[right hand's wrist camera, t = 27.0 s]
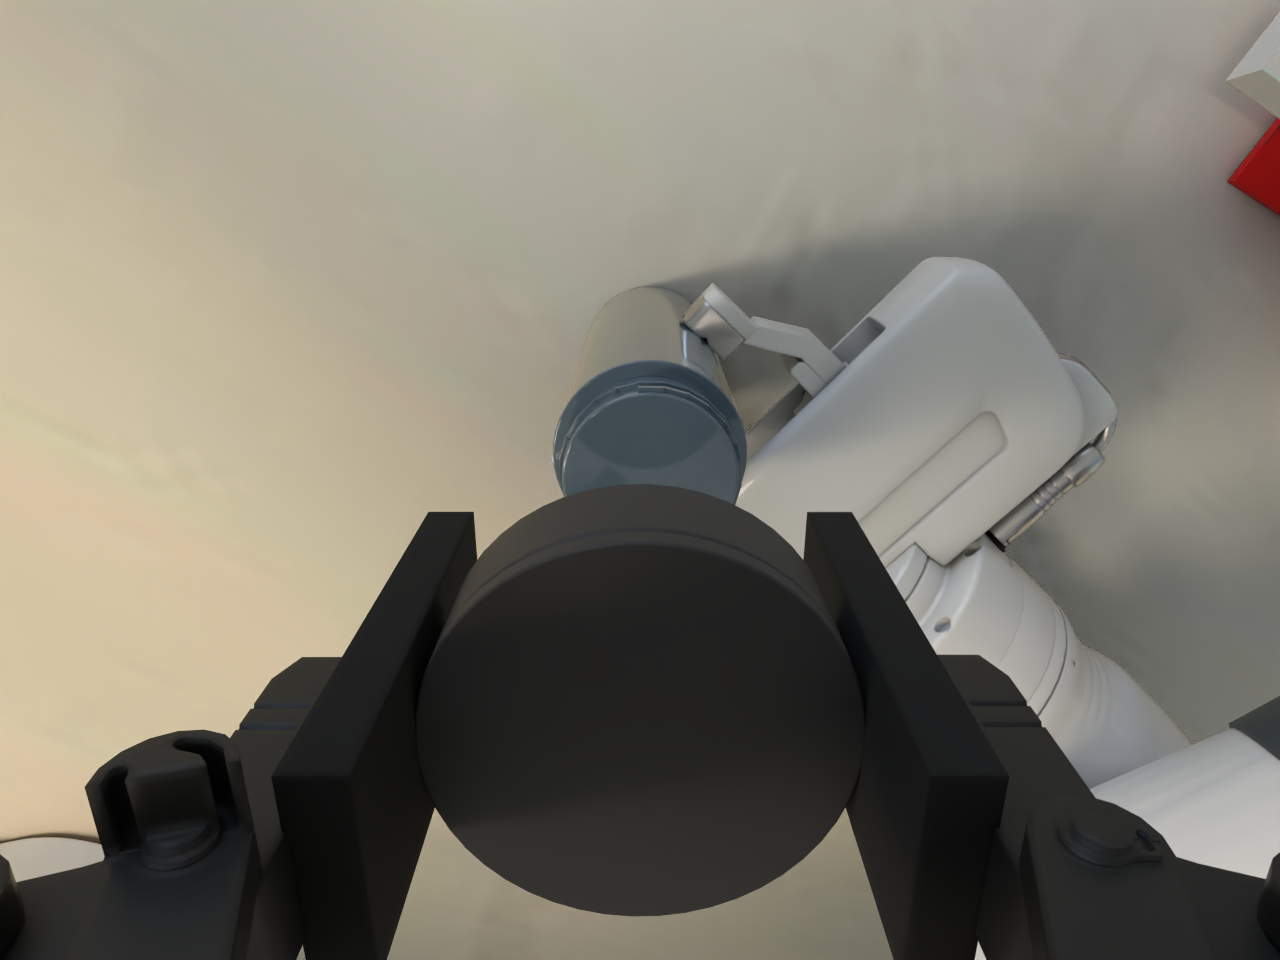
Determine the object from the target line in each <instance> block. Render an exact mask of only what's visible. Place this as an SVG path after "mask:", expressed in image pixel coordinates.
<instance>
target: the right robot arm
mask: <svg viewBox="0 0 1280 960" xmlns="http://www.w3.org/2000/svg"><path fill="white" fill-rule="evenodd" d="M803 560H804V561H805V563H806V564H807V565H808V567H809V569H810V570H811V572H812V574H813V575H814V577H815V579H816V580H817V582H818V584H819V585H820V588H821V590H822V593H823V595H824V597H825V600H826V602H827V605H828V607H829V609H830V612H831V614H832V616H833V619H834V621H835V624H836V626H837V628H838V631H839V633H840V636H841V638H842V640H843V643H844V645H845V648H846V650H847V652H848V655H849V657H850V660H851V662H852V664H853V667H854V669H855V672H856V674H857V677H858V679H859V683H860V687H861V691H862V695H863V700H864V704H865V716H866V725H865V736H864V745H863V754H862V762H861V769H860V773H859V777H858V780H857V783H856V785H855V788H854V790H853V792H852V795H851V797H850V800H849V802H848V804H847V805H846V810H847V813H848V816H849V819H850V822H851V826H852V829H853V832H854V835H855V838H856V841H857V845H858V848H859V851H860V854H861V857H862V860H863V864H864V867H865V870H866V873H867V876H868V879H869V883H870V886H871V889H872V892H873V895H874V898H875V902H876V905H877V908H878V911H879V914H880V917H881V921H882V924H883V927H884V930H885V933H886V936H887V940H888V943H889V946H890V949H891V952H892V955H893V959H894V960H975V955H976V950H977V945H978V942H979V944H980V946H981V949H982V951H983V953H984V956H985V958H986V960H1280V853H1278V854H1277V855H1276V856H1275V857H1273V859H1272V862H1271V865H1270V868H1269V871H1268V874H1267V877H1266V879H1263V878H1259V877H1255V876H1251V875H1246V874H1242V873H1238V872H1233V871H1229V870H1225V869H1220V868H1216V867H1212V866H1207V865H1203V864H1199V863H1195V862H1192V861H1189V860H1185V859H1182V858H1179V857H1176V855H1175V854H1174V852H1173V851H1172V849H1171V848H1170V846H1169V845H1168V843H1167V842H1166V840H1165V839H1164V837H1163V836H1162V835H1161V834H1160V833H1159V832H1158V831H1156V830H1155V829H1154V828H1153V827H1152V826H1150V825H1149V824H1148V823H1147V822H1146V821H1145V820H1143V819H1142V818H1141V817H1139V816H1137V815H1135V814H1133V813H1131V812H1129V811H1128V810H1126V809H1124V808H1122V807H1120V806H1118V805H1116V804H1114V803H1110V802H1107V801H1103V800H1100V799H1097V798H1095V796H1094V795H1093V794H1092V792H1091V791H1090V789H1089V788H1088V786H1087V785H1086V784H1085V782H1084V781H1083V779H1082V778H1081V777H1080V775H1079V774H1078V772H1077V771H1076V770H1075V768H1074V767H1073V765H1072V764H1071V763H1070V761H1069V760H1068V758H1067V757H1066V756H1065V754H1064V753H1063V751H1062V750H1061V748H1060V747H1059V746H1058V744H1057V743H1056V741H1055V740H1054V739H1053V737H1052V736H1051V734H1050V733H1049V732H1048V730H1047V729H1046V727H1042V722H1041V720H1040V719H1039V718H1038V716H1037V715H1036V713H1035V712H1034V710H1033V709H1032V708H1031V706H1027V701H1026V699H1025V698H1024V696H1023V695H1022V694H1021V692H1020V691H1019V689H1018V688H1017V687H1016V685H1015V684H1014V682H1013V681H1012V680H1011V678H1010V677H1009V676H1008V675H1007V674H1005V673H1004V672H1003V671H1001V670H1000V669H998V668H997V667H995V666H994V665H993V664H991V663H990V662H988V661H987V660H986V659H984V658H983V657H981V656H980V655H937V654H936V652H935V651H934V649H933V647H932V646H931V644H930V642H929V640H928V639H927V637H926V635H925V634H924V632H923V630H922V629H921V627H920V625H919V624H918V622H917V620H916V619H915V617H914V615H913V614H912V612H911V610H910V609H909V607H908V605H907V604H906V602H905V600H904V599H903V597H902V595H901V594H900V592H899V590H898V588H897V587H896V585H895V583H894V582H893V580H892V578H891V577H890V575H889V573H888V572H887V570H886V568H885V567H884V565H883V563H882V562H881V560H880V558H879V557H878V555H877V553H876V552H875V550H874V548H873V547H872V545H871V543H870V542H869V540H868V538H867V537H866V535H865V533H864V531H863V530H862V528H861V526H860V525H859V523H858V521H857V520H856V518H855V516H854V515H853V513H852V512H807V519H806V532H805V545H804V558H803ZM476 561H477V552H476V538H475V525H474V512H428V514H427V516H426V517H425V519H424V521H423V522H422V524H421V526H420V527H419V529H418V531H417V532H416V534H415V536H414V537H413V539H412V541H411V542H410V544H409V546H408V547H407V549H406V551H405V552H404V554H403V556H402V558H401V559H400V561H399V563H398V564H397V566H396V568H395V569H394V571H393V573H392V574H391V576H390V578H389V579H388V581H387V583H386V584H385V586H384V588H383V589H382V591H381V593H380V594H379V596H378V598H377V599H376V601H375V603H374V604H373V606H372V608H371V610H370V611H369V613H368V615H367V616H366V618H365V620H364V621H363V623H362V625H361V626H360V628H359V630H358V631H357V633H356V635H355V636H354V638H353V640H352V641H351V643H350V645H349V646H348V648H347V650H346V651H345V653H344V655H343V656H342V657H302V658H300V659H299V660H298V661H296V662H295V663H293V664H292V665H291V666H289V667H288V668H286V669H285V670H284V671H282V672H281V673H279V674H278V675H277V676H275V677H274V678H272V679H271V681H270V682H269V684H268V685H267V687H266V688H265V689H264V691H263V692H262V694H261V695H260V696H259V698H258V699H257V701H256V702H255V704H254V709H250V711H249V712H248V713H247V715H246V716H245V718H244V719H243V721H242V722H241V723H240V728H239V730H235V732H234V733H233V735H232V736H231V737H230V738H229V737H227V736H226V735H225V734H221V733H216V732H212V731H208V730H191V731H177V732H173V733H169V734H165V735H162V736H158V737H154V738H150V739H148V740H145V741H143V742H141V743H139V744H137V745H135V746H133V747H130V748H128V749H126V750H124V751H122V752H120V753H119V754H118V755H116V756H115V757H114V758H112V759H111V760H110V761H108V762H107V763H105V764H104V765H103V766H101V767H100V768H99V769H98V770H97V771H96V773H95V774H94V775H93V777H92V778H91V779H90V781H89V782H88V783H87V785H86V786H85V790H86V793H87V797H88V800H89V804H90V807H91V811H92V814H93V818H94V821H95V825H96V828H97V832H98V835H99V839H100V842H101V846H102V849H103V853H104V856H105V857H104V860H103V861H100V862H97V863H94V864H90V865H87V866H84V867H80V868H75V869H71V870H67V871H62V872H58V873H54V874H49V875H45V876H41V877H37V878H32V879H28V880H24V881H19V882H16V880H15V878H14V875H13V872H12V869H11V866H10V863H9V861H8V860H7V859H5V858H4V857H3V856H2V855H0V960H296V959H297V956H298V954H299V952H300V949H301V947H302V945H303V947H304V953H305V958H306V960H387V957H388V954H389V951H390V948H391V944H392V941H393V938H394V935H395V932H396V929H397V925H398V922H399V919H400V916H401V913H402V910H403V906H404V903H405V900H406V897H407V894H408V891H409V887H410V884H411V881H412V878H413V875H414V872H415V868H416V865H417V862H418V859H419V856H420V853H421V849H422V846H423V843H424V840H425V837H426V834H427V830H428V827H429V824H430V821H431V818H432V815H433V811H434V808H435V806H434V804H433V801H432V799H431V797H430V795H429V793H428V791H427V789H426V787H425V783H424V780H423V777H422V773H421V770H420V765H419V757H418V748H417V740H416V729H415V711H416V705H417V699H418V694H419V688H420V685H421V683H422V680H423V677H424V674H425V671H426V668H427V665H428V663H429V660H430V658H431V656H432V653H433V651H434V649H435V646H436V644H437V641H438V639H439V636H440V634H441V632H442V629H443V627H444V625H445V622H446V620H447V617H448V615H449V613H450V610H451V608H452V605H453V603H454V601H455V598H456V596H457V594H458V591H459V590H460V588H461V586H462V584H463V582H464V580H465V578H466V576H467V574H468V573H469V571H470V570H471V568H472V567H473V566H474V564H475V563H476Z"/></svg>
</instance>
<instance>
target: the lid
mask: <svg viewBox="0 0 1280 960" xmlns="http://www.w3.org/2000/svg"><path fill="white" fill-rule="evenodd" d="M865 725H866V716H865V704H864V700H863V695H862V691H861V687H860V683H859V679H858V677H857V674H856V672H855V669H854V667H853V664H852V662H851V660H850V657H849V655H848V652H847V650H846V648H845V645H844V643H843V640H842V638H841V636H840V633H839V631H838V628H837V626H836V624H835V621H834V619H833V616H832V614H831V612H830V609H829V607H828V605H827V602H826V600H825V597H824V595H823V593H822V590H821V588H820V585H819V584H818V582H817V580H816V579H815V577H814V575H813V574H812V572H811V570H810V569H809V567H808V565H807V564H806V563H805V561H804V560H803V559H802V558H801V557H800V555H799V554H798V553H797V552H796V550H795V549H794V548H793V547H792V546H791V545H790V544H789V543H788V542H787V541H786V540H785V539H784V538H783V537H782V536H781V535H779V534H778V533H777V532H776V531H775V530H774V529H773V528H771V527H770V526H768V525H767V524H766V523H764V522H763V521H761V520H760V519H758V518H757V517H756V516H754V515H753V514H751V513H749V512H747V511H745V510H743V509H741V508H739V507H737V506H735V505H734V504H732V503H730V502H727V501H725V500H722V499H719V498H716V497H714V496H711V495H708V494H705V493H702V492H698V491H693V490H689V489H685V488H680V487H674V486H665V485H655V484H624V485H615V486H608V487H601V488H595V489H591V490H587V491H584V492H580V493H576V494H573V495H569V496H566V497H564V498H561V499H559V500H557V501H554V502H552V503H549V504H547V505H545V506H543V507H541V508H539V509H537V510H536V511H534V512H532V513H530V514H529V515H527V516H525V517H523V518H522V519H520V520H519V521H518V522H516V523H515V524H514V525H512V526H511V527H510V528H509V529H507V530H506V531H505V532H503V533H502V534H501V535H500V536H499V537H498V538H497V539H496V540H495V541H494V542H493V543H492V544H491V545H490V546H489V547H488V548H487V549H486V550H485V551H484V552H483V553H482V555H481V556H480V557H479V559H478V560H477V561H476V563H475V564H474V566H473V567H472V568H471V570H470V571H469V573H468V574H467V576H466V578H465V580H464V582H463V584H462V586H461V588H460V590H459V591H458V594H457V596H456V598H455V601H454V603H453V605H452V608H451V610H450V613H449V615H448V617H447V620H446V622H445V625H444V627H443V629H442V632H441V634H440V636H439V639H438V641H437V644H436V646H435V649H434V651H433V653H432V656H431V658H430V660H429V663H428V665H427V668H426V671H425V674H424V677H423V680H422V683H421V685H420V688H419V694H418V699H417V705H416V711H415V729H416V740H417V748H418V757H419V765H420V770H421V773H422V777H423V780H424V783H425V787H426V789H427V791H428V793H429V795H430V797H431V799H432V801H433V804H434V806H435V808H436V810H437V811H438V813H439V814H440V816H441V817H442V819H443V820H444V822H445V823H446V825H447V826H448V828H449V829H450V830H451V832H452V833H453V834H454V835H455V836H456V837H457V838H458V840H459V841H460V842H461V843H462V844H463V845H464V846H465V848H466V849H468V850H469V851H470V852H471V853H472V854H473V855H474V856H475V857H477V858H478V859H479V860H480V861H481V862H482V863H483V864H484V865H486V866H487V867H489V868H490V869H491V870H493V871H494V872H496V873H497V874H499V875H500V876H501V877H503V878H504V879H506V880H508V881H509V882H511V883H513V884H515V885H517V886H519V887H521V888H522V889H524V890H526V891H528V892H530V893H533V894H535V895H538V896H540V897H542V898H545V899H547V900H550V901H552V902H555V903H559V904H562V905H566V906H569V907H573V908H576V909H580V910H585V911H591V912H596V913H602V914H610V915H622V916H661V915H670V914H678V913H686V912H691V911H695V910H700V909H704V908H709V907H713V906H716V905H719V904H722V903H725V902H728V901H731V900H734V899H737V898H739V897H741V896H743V895H746V894H748V893H750V892H752V891H754V890H757V889H759V888H761V887H763V886H764V885H766V884H768V883H769V882H771V881H773V880H774V879H776V878H778V877H780V876H781V875H783V874H784V873H785V872H787V871H788V870H789V869H791V868H792V867H793V866H795V865H796V864H797V863H799V862H800V861H801V860H803V859H804V858H805V857H806V856H807V855H808V854H809V853H810V852H811V851H812V850H813V849H814V848H815V847H816V846H817V845H818V844H819V843H820V842H821V841H822V840H823V838H824V837H825V836H826V835H827V833H828V832H829V831H830V830H831V828H832V827H833V826H834V825H835V823H836V822H837V820H838V819H839V817H840V815H841V814H842V812H843V810H844V809H845V807H846V805H847V804H848V802H849V800H850V797H851V795H852V792H853V790H854V788H855V785H856V783H857V780H858V777H859V773H860V769H861V762H862V754H863V745H864V736H865Z"/></svg>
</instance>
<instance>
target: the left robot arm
mask: <svg viewBox="0 0 1280 960" xmlns="http://www.w3.org/2000/svg"><path fill="white" fill-rule="evenodd" d="M682 317H683V321H684V323H685V324H686V325H687V326H688V327H689V328H690V329H691V330H692V331H693V332H694V333H695V334H696V335H698V336H699V337H701V338H706V340H707V343H708V346H709V347H710V348H711V349H712V351H713V352H714V353H716V354H717V355H718V356H719V357H720V358H721V359H722V360H724V359H726V358H727V357H728V356H729V355H730V354H731V353H732V352H733V351H734V350H735V349H736V348H737V347H738V346H739V345H740V344H741V343H743V344H745V345H749V346H753V347H757V348H761V349H765V350H769V351H773V352H777V353H781V354H783V355H782V359H781V361H782V363H783V364H784V366H785V367H786V368H787V370H788V371H789V373H790V374H791V375H792V376H793V377H794V378H795V379H796V380H797V381H798V382H797V383H796V384H795V385H794V386H793V387H792V388H791V389H790V390H789V391H788V392H787V393H786V394H785V395H784V396H782V397H781V398H780V399H779V400H778V401H777V402H776V403H775V404H774V405H773V406H772V407H771V408H770V409H769V410H768V411H767V412H766V413H765V414H764V415H763V416H762V417H761V418H760V419H759V420H758V421H757V422H756V423H755V424H754V425H753V426H752V427H751V428H750V429H749V430H747V431H746V432H745V434H746V441H747V463H746V470H745V473H744V477H743V481H742V487H741V489H740V492H739V496H738V499H737V502H736V505H735V506H737V507H739V508H741V509H743V510H745V511H747V512H749V513H751V514H753V515H754V516H756V517H757V518H758V519H760V520H761V521H763V522H764V523H766V524H767V525H768V526H770V527H771V528H773V529H774V530H775V531H776V532H777V533H778V534H779V535H781V536H782V537H783V538H784V539H785V540H786V541H787V542H788V543H789V544H790V545H791V546H792V547H793V548H794V549H795V550H796V552H797V553H798V554H799V555H800V557H801V558H802V559H803V558H804V545H805V532H806V519H807V512H852V513H853V515H854V516H855V518H856V520H857V521H858V523H859V525H860V526H861V528H862V530H863V531H864V533H865V535H866V537H867V538H868V540H869V542H870V543H871V545H872V547H873V548H874V550H875V552H876V553H877V555H878V557H879V558H880V560H881V562H882V563H883V565H884V567H885V568H886V570H887V572H888V573H889V575H890V577H891V578H892V580H893V582H894V583H895V585H896V587H897V588H898V590H899V592H900V594H901V595H902V597H903V599H904V600H905V602H906V604H907V605H908V607H909V609H910V610H911V612H912V614H913V615H914V617H915V619H916V620H917V622H918V624H919V625H920V627H921V629H922V630H923V632H924V634H925V635H926V637H927V639H928V640H929V642H930V644H931V646H932V647H933V649H934V651H935V652H936V654H937V655H980V656H981V657H983V658H984V659H986V660H987V661H988V662H990V663H991V664H993V665H994V666H995V667H997V668H998V669H1000V670H1001V671H1003V672H1004V673H1005V674H1007V675H1008V676H1009V677H1010V678H1011V680H1012V681H1013V682H1014V684H1015V685H1016V687H1017V688H1018V689H1019V691H1020V692H1021V694H1022V695H1023V696H1024V698H1025V699H1026V701H1027V706H1031V708H1032V709H1033V710H1034V712H1035V713H1036V715H1037V716H1038V718H1039V719H1040V720H1041V722H1042V727H1046V729H1047V730H1048V732H1049V733H1050V734H1051V736H1052V737H1053V739H1054V740H1055V741H1056V743H1057V744H1058V746H1059V747H1060V748H1061V750H1062V751H1063V753H1064V754H1065V756H1066V757H1067V758H1068V760H1069V761H1070V763H1071V764H1072V765H1073V767H1074V768H1075V770H1076V771H1077V772H1078V774H1079V775H1080V777H1081V778H1082V779H1083V781H1084V782H1085V784H1086V785H1087V786H1088V788H1089V789H1090V791H1091V792H1092V794H1093V795H1094V796H1095V798H1097V799H1100V800H1103V801H1107V802H1110V803H1114V804H1116V805H1118V806H1120V807H1122V808H1124V809H1126V810H1128V811H1129V812H1131V813H1133V814H1135V815H1137V816H1139V817H1141V818H1142V819H1143V820H1145V821H1146V822H1147V823H1148V824H1149V825H1150V826H1152V827H1153V828H1154V829H1155V830H1156V831H1158V832H1159V833H1160V834H1161V835H1162V836H1163V837H1164V839H1165V840H1166V842H1167V843H1168V845H1169V846H1170V848H1171V849H1172V851H1173V852H1174V854H1175V855H1176V857H1179V858H1182V859H1185V860H1189V861H1192V862H1195V863H1199V864H1203V865H1207V866H1212V867H1216V868H1220V869H1225V870H1229V871H1233V872H1238V873H1242V874H1246V875H1251V876H1255V877H1259V878H1263V879H1266V877H1267V874H1268V871H1269V868H1270V865H1271V862H1272V859H1273V857H1275V856H1276V855H1277V854H1278V853H1280V696H1279V697H1277V698H1275V699H1273V700H1271V701H1269V702H1268V703H1266V704H1264V705H1262V706H1260V707H1259V708H1257V709H1255V710H1253V711H1251V712H1249V713H1247V714H1246V715H1244V716H1242V717H1240V718H1238V719H1236V720H1235V721H1233V722H1231V723H1229V727H1230V729H1228V730H1225V731H1223V732H1221V733H1218V734H1216V735H1214V736H1211V737H1209V738H1207V739H1204V740H1202V741H1200V742H1197V743H1195V744H1193V745H1191V743H1190V742H1189V741H1188V740H1187V738H1186V737H1185V736H1184V735H1183V733H1182V732H1181V731H1180V730H1179V729H1178V727H1177V726H1176V725H1175V724H1174V723H1173V721H1172V720H1171V719H1170V718H1169V717H1168V716H1167V714H1166V713H1165V712H1164V711H1163V710H1162V709H1161V708H1160V707H1159V706H1158V705H1157V703H1156V702H1155V701H1154V700H1153V699H1152V698H1151V697H1150V696H1149V695H1148V694H1147V693H1146V692H1145V691H1144V690H1143V689H1142V688H1141V687H1140V686H1139V685H1138V683H1137V682H1136V681H1135V680H1134V679H1133V678H1132V677H1131V676H1130V675H1129V674H1128V673H1127V672H1126V671H1124V670H1123V669H1122V668H1121V667H1120V666H1119V665H1117V664H1116V663H1115V662H1113V661H1112V660H1110V659H1109V658H1107V657H1106V656H1104V655H1103V654H1101V653H1099V652H1097V651H1095V650H1093V649H1090V648H1088V647H1086V646H1084V645H1083V644H1082V643H1081V642H1080V641H1079V640H1078V638H1077V636H1076V635H1075V632H1074V630H1073V628H1072V625H1071V623H1070V622H1069V620H1068V618H1067V617H1066V615H1065V614H1064V612H1063V611H1062V609H1061V608H1060V607H1059V606H1058V604H1057V603H1056V602H1055V601H1054V600H1053V599H1052V598H1051V597H1050V596H1049V595H1048V594H1047V593H1046V592H1045V591H1044V590H1043V589H1042V588H1041V587H1040V586H1039V585H1038V584H1037V583H1036V582H1035V581H1034V580H1033V579H1032V578H1031V577H1030V576H1029V575H1028V574H1027V573H1026V572H1025V571H1024V570H1023V569H1022V568H1021V567H1020V566H1019V565H1018V564H1017V563H1016V562H1015V561H1014V560H1013V559H1012V558H1010V557H1009V556H1008V555H1007V554H1006V553H1005V548H1006V547H1007V546H1008V545H1009V544H1010V543H1012V542H1013V541H1014V540H1015V539H1017V538H1018V537H1019V536H1020V535H1021V534H1023V533H1024V532H1025V531H1026V530H1027V529H1029V528H1030V527H1031V526H1032V525H1033V524H1035V523H1036V522H1037V521H1038V520H1039V519H1040V518H1041V517H1042V516H1043V515H1044V514H1045V512H1047V511H1048V510H1049V509H1050V508H1051V507H1050V506H1053V505H1054V504H1055V503H1056V500H1059V499H1060V498H1061V497H1062V496H1063V494H1066V493H1067V492H1068V491H1069V490H1071V489H1072V488H1073V487H1074V486H1075V487H1078V486H1079V485H1081V484H1082V483H1084V482H1085V481H1086V480H1088V479H1089V478H1090V477H1091V476H1092V475H1093V474H1094V473H1095V472H1096V471H1097V470H1098V469H1099V468H1100V466H1101V465H1102V464H1103V463H1104V461H1105V457H1104V456H1103V455H1102V454H1101V452H1102V451H1103V450H1104V448H1105V447H1106V446H1107V444H1108V443H1109V441H1110V439H1111V437H1112V435H1113V433H1114V430H1115V427H1116V420H1117V415H1118V409H1117V406H1116V403H1115V401H1114V399H1113V397H1112V395H1111V393H1110V392H1109V391H1108V389H1107V388H1106V387H1105V386H1104V385H1103V384H1102V383H1101V382H1100V381H1099V379H1098V378H1097V377H1096V376H1095V375H1094V374H1093V373H1092V372H1091V371H1090V369H1089V368H1088V367H1087V366H1086V365H1085V364H1084V363H1082V362H1081V361H1080V360H1078V359H1076V358H1074V357H1072V356H1069V355H1065V354H1060V353H1057V352H1056V351H1055V349H1054V348H1053V346H1052V344H1051V343H1050V341H1049V340H1048V338H1047V337H1046V335H1045V334H1044V332H1043V330H1042V329H1041V328H1040V326H1039V325H1038V323H1037V322H1036V320H1035V319H1034V318H1033V316H1032V315H1031V313H1030V312H1029V311H1028V309H1027V308H1026V306H1025V305H1024V304H1023V303H1022V301H1021V300H1020V299H1019V297H1018V296H1017V295H1016V294H1015V292H1014V291H1013V290H1012V289H1011V287H1010V286H1009V285H1008V284H1007V283H1006V282H1005V280H1004V279H1003V278H1002V277H1001V276H1000V275H999V274H998V273H997V272H996V271H994V270H993V269H991V268H990V267H988V266H986V265H984V264H982V263H980V262H978V261H975V260H972V259H967V258H959V257H930V258H927V259H925V260H923V261H922V262H921V263H920V264H918V265H917V266H916V267H915V268H914V269H913V270H912V271H911V272H910V273H909V274H908V275H907V276H906V277H905V278H904V279H903V280H902V281H901V282H900V283H899V284H898V285H897V286H896V287H895V288H894V289H893V290H892V291H891V292H890V293H888V294H887V295H886V296H885V297H884V298H883V299H882V300H881V301H880V302H879V303H878V304H877V305H876V306H875V307H874V308H873V309H872V310H871V311H870V312H869V313H868V314H867V315H866V316H865V317H864V318H863V319H862V320H861V321H860V322H859V323H858V324H857V325H856V326H855V327H853V328H852V329H851V330H850V331H849V332H848V333H847V334H846V335H845V336H844V337H843V338H842V339H841V340H840V341H839V342H838V343H837V344H836V345H835V346H834V347H833V348H832V349H831V350H829V349H828V348H827V347H826V346H825V345H824V344H823V343H822V342H821V341H820V340H819V339H818V338H817V337H816V336H815V335H814V334H813V333H812V332H811V331H810V330H809V329H807V328H803V327H799V326H794V325H790V324H786V323H781V322H777V321H773V320H768V319H764V318H760V317H755V316H752V317H751V318H749V317H748V316H747V315H746V314H745V313H744V312H743V311H742V310H741V309H740V308H739V307H738V306H737V305H736V304H735V303H734V302H733V301H732V300H731V299H730V298H729V297H728V296H727V295H726V294H725V293H724V292H723V291H722V290H721V289H719V288H718V287H717V286H716V285H715V284H714V283H712V284H711V285H710V286H709V287H708V288H707V289H706V290H705V291H704V292H703V293H702V294H701V295H700V296H699V297H698V298H697V300H696V301H695V302H694V303H693V304H692V305H691V306H690V307H689V308H688V309H687V310H686V312H685V313H684V314H683V315H682ZM1097 435H1098V436H1097ZM1096 436H1097V437H1096ZM1095 437H1096V439H1095V440H1094V442H1093V443H1092V444H1091V443H1089V442H1090V441H1091V440H1092V439H1093V438H1095ZM551 461H552V463H553V465H554V461H553V453H552V456H551ZM0 855H2V856H3V857H4V858H5V859H7V860H8V861H9V863H10V866H11V869H12V872H13V875H14V878H15V880H16V882H19V881H24V880H28V879H32V878H37V877H41V876H45V875H49V874H54V873H58V872H62V871H67V870H71V869H75V868H80V867H84V866H87V865H90V864H94V863H97V862H100V861H103V860H104V857H105V856H104V853H103V849H102V846H101V844H98V843H93V842H89V841H84V840H78V839H70V838H58V837H40V838H28V839H21V840H16V841H11V842H5V843H0ZM975 960H986V958H985V956H984V953H983V951H982V949H981V946H980V944H979V942H978V945H977V950H976V955H975Z"/></svg>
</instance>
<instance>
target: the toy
mask: <svg viewBox="0 0 1280 960" xmlns="http://www.w3.org/2000/svg"><path fill="white" fill-rule="evenodd" d="M1225 82H1227V83H1228V84H1230V85H1231V86H1233V87H1234V88H1236V89H1237V90H1238V91H1240V92H1241V93H1243V94H1244V95H1246V96H1247V97H1249V98H1250V99H1251V100H1253V101H1254V102H1256V103H1257V104H1259V105H1260V106H1262V107H1263V108H1264V109H1266V110H1267V111H1269V112H1270V113H1272V114H1273V115H1275V116H1276V117H1277V119H1276V120H1275V122H1274V123H1273V124H1272V126H1271V127H1270V128H1269V129H1268V131H1267V132H1266V133H1265V134H1264V136H1263V137H1262V138H1261V140H1260V141H1259V142H1258V143H1257V145H1256V146H1255V147H1254V148H1253V150H1252V151H1251V152H1250V154H1249V155H1248V156H1247V157H1246V159H1245V160H1244V161H1243V162H1242V164H1241V165H1240V166H1239V168H1238V169H1237V170H1236V171H1235V173H1234V174H1233V175H1232V176H1231V178H1230V179H1229V180H1228V183H1230V184H1231V185H1233V186H1235V187H1236V188H1238V189H1239V190H1241V191H1242V192H1244V193H1246V194H1247V195H1249V196H1250V197H1252V198H1254V199H1255V200H1257V201H1258V202H1260V203H1261V204H1263V205H1265V206H1266V207H1268V208H1269V209H1271V210H1272V211H1274V212H1276V213H1277V214H1279V215H1280V12H1279V13H1278V14H1277V15H1276V17H1275V18H1274V19H1273V21H1272V22H1271V23H1270V24H1269V26H1268V27H1267V28H1266V29H1265V31H1264V32H1263V33H1262V35H1261V36H1260V37H1259V38H1258V40H1257V41H1256V42H1255V44H1254V45H1253V46H1252V47H1251V49H1250V50H1249V51H1248V52H1247V54H1246V55H1245V56H1244V58H1243V59H1242V60H1241V61H1240V63H1239V64H1238V65H1237V66H1236V68H1235V69H1234V70H1233V72H1232V73H1231V74H1230V75H1229V77H1228V78H1227V79H1226V80H1225Z"/></svg>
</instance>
